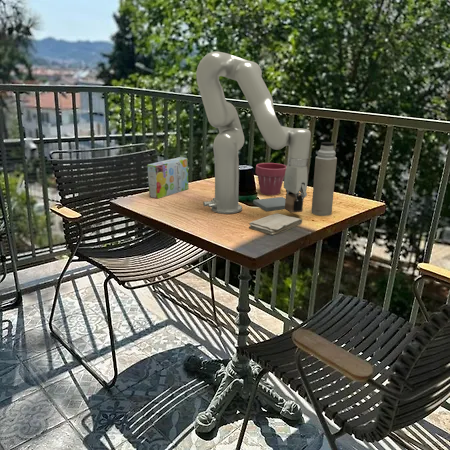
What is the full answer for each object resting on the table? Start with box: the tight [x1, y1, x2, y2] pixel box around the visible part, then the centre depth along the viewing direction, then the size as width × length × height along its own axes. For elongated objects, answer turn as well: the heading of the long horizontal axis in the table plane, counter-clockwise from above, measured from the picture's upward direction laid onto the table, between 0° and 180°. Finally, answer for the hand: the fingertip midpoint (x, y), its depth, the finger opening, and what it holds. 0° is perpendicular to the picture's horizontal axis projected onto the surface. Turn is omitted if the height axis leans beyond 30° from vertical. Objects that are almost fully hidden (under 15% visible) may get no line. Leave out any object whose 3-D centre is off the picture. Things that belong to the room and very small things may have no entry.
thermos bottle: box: [310, 141, 338, 217], centre depth 169 cm, size 8×8×28 cm
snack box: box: [146, 156, 190, 200], centre depth 197 cm, size 21×6×15 cm, turn 144°
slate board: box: [252, 196, 286, 212], centre depth 182 cm, size 14×12×2 cm
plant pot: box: [255, 162, 287, 196], centre depth 199 cm, size 14×14×13 cm
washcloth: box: [248, 213, 303, 236], centre depth 158 cm, size 12×18×3 cm, turn 137°
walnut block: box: [284, 194, 305, 214], centre depth 168 cm, size 5×5×6 cm
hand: (293, 207), depth 168 cm, fingers closed on walnut block, 5 cm apart
